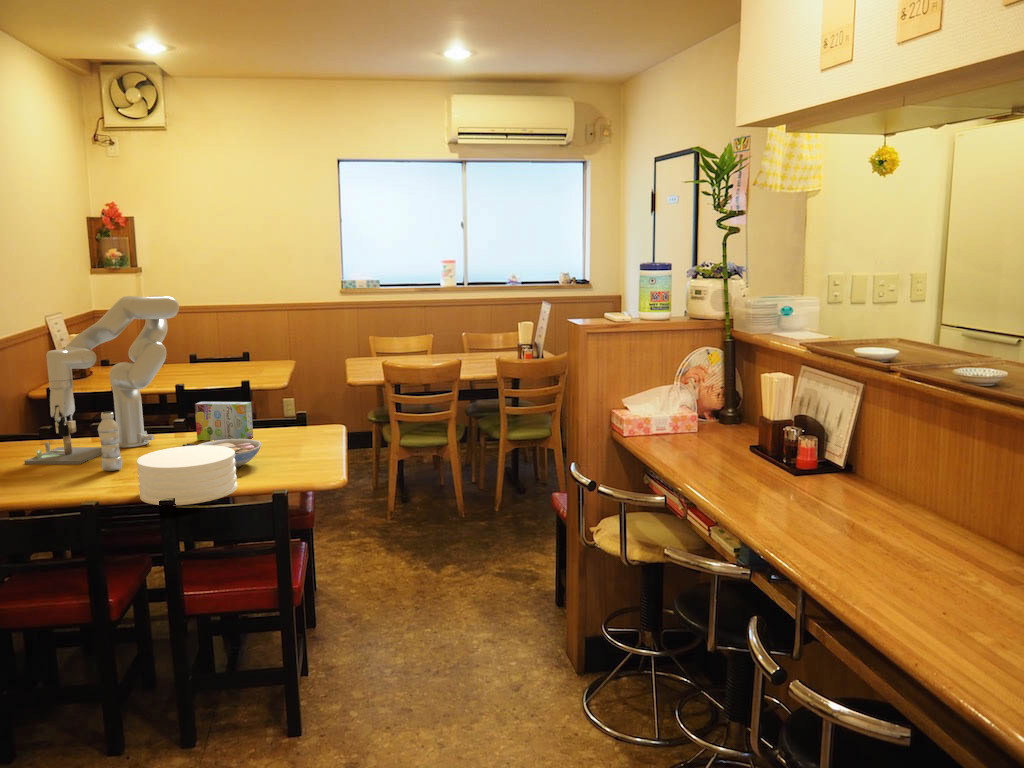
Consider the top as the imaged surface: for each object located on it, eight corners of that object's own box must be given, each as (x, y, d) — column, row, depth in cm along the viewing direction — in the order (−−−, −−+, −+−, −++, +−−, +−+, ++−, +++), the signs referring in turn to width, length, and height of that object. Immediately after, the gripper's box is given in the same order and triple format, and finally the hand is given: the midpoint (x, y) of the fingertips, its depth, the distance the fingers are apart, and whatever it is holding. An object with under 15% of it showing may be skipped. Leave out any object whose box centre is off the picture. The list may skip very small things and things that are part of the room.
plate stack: (136, 487, 265) (133, 451, 263) (229, 475, 278) (226, 441, 276) (143, 511, 240) (140, 472, 239) (244, 497, 253) (242, 460, 251)
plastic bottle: (115, 473, 281) (109, 414, 277) (97, 472, 282) (91, 414, 279) (127, 468, 287) (122, 411, 284) (110, 467, 288) (104, 410, 285)
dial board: (110, 450, 313) (109, 442, 312) (80, 464, 293) (79, 455, 293) (58, 450, 314) (57, 442, 314) (24, 464, 294) (23, 455, 294)
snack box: (254, 439, 329) (251, 401, 326) (247, 442, 323) (245, 404, 321) (203, 438, 332) (200, 400, 329) (196, 441, 326) (193, 403, 324)
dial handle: (78, 452, 305) (75, 420, 303) (74, 453, 302) (71, 422, 300) (49, 452, 305) (45, 420, 303) (44, 453, 303) (41, 422, 301)
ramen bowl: (279, 464, 291) (278, 440, 289) (226, 480, 271) (225, 455, 270) (229, 455, 303) (227, 433, 302) (175, 470, 284) (173, 446, 282)
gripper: (59, 381, 307) (64, 430, 310) (40, 388, 291) (45, 440, 294) (81, 380, 308) (86, 429, 311) (62, 388, 292) (67, 439, 295)
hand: (66, 434), depth 302 cm, fingers closed on dial handle, 3 cm apart
